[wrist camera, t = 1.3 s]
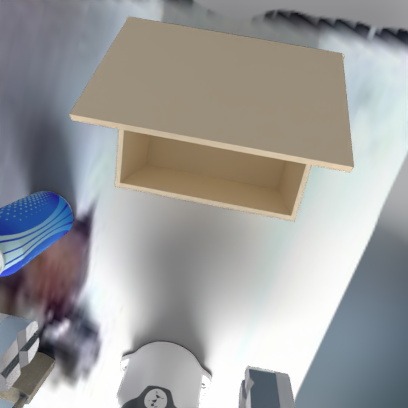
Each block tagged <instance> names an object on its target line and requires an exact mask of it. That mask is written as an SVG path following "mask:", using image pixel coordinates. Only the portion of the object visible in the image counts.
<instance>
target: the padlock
mask: <svg viewBox="0 0 408 408" xmlns="http://www.w3.org/2000/svg"><path fill="white" fill-rule="evenodd" d="M54 363H55V360H54V359H53V358H51V357H49V356H48V355H46V354H44V353H41V352H38V351H36V353H35V356H34V357H33V359H32V360H31V361H30V363H29V364H28V365H26V366H24V367H22V368H21V373H20V376H19V377H18V379H17V380H16V381H15V383H14V384H13V385H12V387H11V388H10V389H9V390H8V392H5V391H0V398H1V399H4V400H7V401H11V402H14V403H15V405H14V406H13V407H12V408H22V407H23V405H24V404H29V403H30V402H31V400H32V399H33V397H34V396H35V394H36V393H37V391H38V390H39V388H40V387H41V386H42V384H43V383H44V381H45V380H46V378H47V377H48V375H49V374H50V372H51V371H52V369H53V368H54Z"/></svg>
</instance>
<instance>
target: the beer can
mask: <svg viewBox="0 0 408 408" xmlns="http://www.w3.org/2000/svg"><path fill="white" fill-rule="evenodd" d="M72 224H73V212H72V209H71V206H70V205H69V203H68V202H67V201H66V200H65V199H64V198H63V197H61V196H60V195H58V194H56V193H53V192H50V191H39V192H36V193H34V194H31V195H29V196H27V197H25V198H22V199H20V200H18V201H16V202H13V203H11V204H9V205H6V206H4V207H2V208H0V276H7V275H10V274H13V273H14V272H16V271H17V270H19V269H20V268H21V267H23V266H24V265H25V264H27V263H28V262H29V261H31V260H32V259H33V258H35V257H36V256H37V255H38V254H40V253H41V252H42V251H44V250H45V249H46V248H48V247H49V246H50V245H52V244H53V243H54V242H55V241H57V240H58V239H59V238H61V237H62V236H63V235H65V234H66V233H67V232H68V231H69V230H70V228H71V227H72Z"/></svg>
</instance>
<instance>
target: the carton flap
mask: <svg viewBox="0 0 408 408" xmlns="http://www.w3.org/2000/svg"><path fill="white" fill-rule="evenodd" d="M69 115H70V117H71V119H72V120H73V121H78V122H84V123H89V124H94V125H100V126H105V127H110V128H116V129H121V130H126V131H132V132H137V133H142V134H148V135H153V136H158V137H164V138H169V139H174V140H180V141H185V142H190V143H196V144H201V145H206V146H212V147H217V148H222V149H228V150H233V151H238V152H244V153H249V154H254V155H260V156H265V157H270V158H276V159H281V160H286V161H292V162H297V163H302V164H308V165H313V166H318V167H324V168H329V169H334V170H340V171H345V172H350V171H351V170H352V169H353V168H354V163H353V153H352V143H351V133H350V124H349V114H348V104H347V94H346V84H345V74H344V64H343V54H342V53H337V52H332V51H326V50H320V49H314V48H308V47H303V46H297V45H291V44H285V43H280V42H274V41H268V40H262V39H256V38H251V37H245V36H239V35H233V34H227V33H222V32H216V31H210V30H204V29H199V28H193V27H187V26H181V25H175V24H170V23H164V22H158V21H152V20H146V19H141V18H135V17H128V19H127V20H126V22H125V24H124V25H123V27H122V28H121V30H120V32H119V33H118V35H117V37H116V38H115V40H114V42H113V43H112V45H111V46H110V48H109V50H108V51H107V53H106V55H105V56H104V58H103V60H102V61H101V63H100V64H99V66H98V68H97V69H96V71H95V73H94V74H93V76H92V78H91V79H90V81H89V83H88V84H87V86H86V87H85V89H84V91H83V92H82V94H81V96H80V97H79V99H78V101H77V102H76V104H75V105H74V107H73V109H72V110H71V112H70V114H69Z"/></svg>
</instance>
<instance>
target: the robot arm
mask: <svg viewBox="0 0 408 408" xmlns="http://www.w3.org/2000/svg"><path fill="white" fill-rule="evenodd" d="M37 329H38V323H37V322H36V321H32V320H28V319H24V318H20V317H16V316H11V315H7V314H2V313H0V391H5V392H8V390H9V389H10V388H11V387H12V385H13V384H14V383H15V381H16V380H17V379H18V377H19V376H20V373H21V368H22V367H24V366H26V365H28V364H29V363H30V361H31V360H32V359H33V357H34V356H35V353H36V351H37V349H38V345H39V337H38V336H37V334H36V333H35V332H36V331H37ZM120 365H121V371H122V378H123V379H122V382H121V384H120V387H119V390H118V393H117V399H118V405H119V408H198V406H199V403H200V402H201V400H202V398H203V396H204V394H205V392H206V391H207V389H208V387H209V385H210V383H211V379H212V377H211V375H210V374H209V373H208V372H207V371H205V370H204V369H203V368H202V367H201V366H200V364H199V362H198V360H197V359H196V357H195V356H194V355H193V354H192V353H191V352H190V351H188V350H187V349H185V348H184V347H182V346H179V345H177V344H174V343H170V342H153V343H149V344H146V345H144V346H142V347H141V348H140V349H138V350H137V351H136V352H134V353H132V354H128V355H125V356H123V357H122V359H121V362H120ZM239 408H295V404H294V399H293V394H292V388H291V383H290V378H289V376H288V374H285V373H280V372H275V371H272V370H267V369H261V368H256V367H251V366H247V368H246V370H245V379H244V380H243V381H242V383H241V387H240V393H239Z"/></svg>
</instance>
